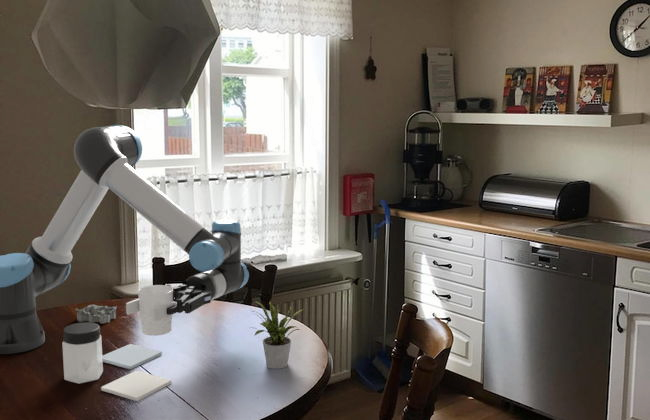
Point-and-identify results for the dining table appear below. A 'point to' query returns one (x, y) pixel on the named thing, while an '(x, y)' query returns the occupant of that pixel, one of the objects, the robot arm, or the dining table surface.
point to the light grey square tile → (130, 356)
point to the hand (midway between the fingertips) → (141, 311)
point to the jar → (82, 352)
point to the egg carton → (96, 314)
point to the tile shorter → (136, 385)
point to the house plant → (276, 338)
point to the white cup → (148, 302)
